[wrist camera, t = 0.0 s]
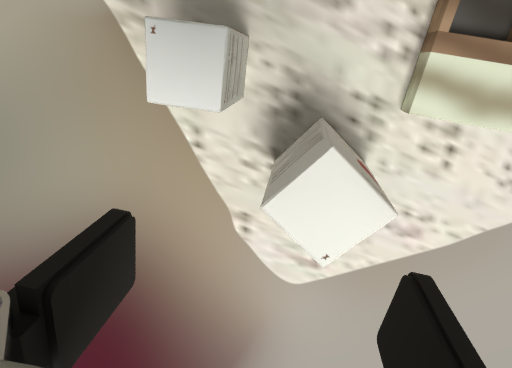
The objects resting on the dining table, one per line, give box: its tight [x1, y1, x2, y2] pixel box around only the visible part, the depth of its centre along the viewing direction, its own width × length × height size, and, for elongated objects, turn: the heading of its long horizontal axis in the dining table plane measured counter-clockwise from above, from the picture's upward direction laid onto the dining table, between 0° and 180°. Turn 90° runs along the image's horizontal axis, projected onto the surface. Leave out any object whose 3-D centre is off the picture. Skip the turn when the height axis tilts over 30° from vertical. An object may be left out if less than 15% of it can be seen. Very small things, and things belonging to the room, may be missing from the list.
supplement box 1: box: [145, 16, 249, 113], centre depth 32 cm, size 7×7×13 cm
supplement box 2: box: [260, 118, 398, 267], centre depth 34 cm, size 9×9×15 cm
